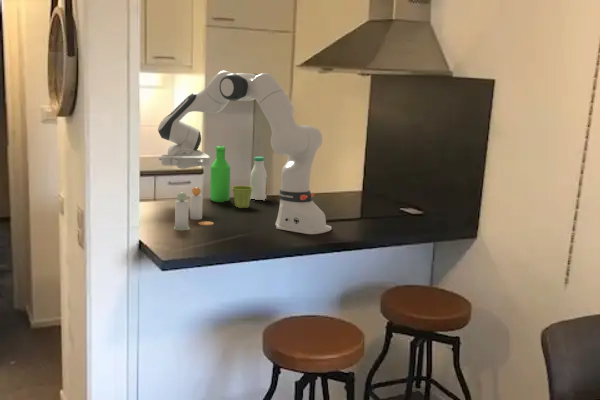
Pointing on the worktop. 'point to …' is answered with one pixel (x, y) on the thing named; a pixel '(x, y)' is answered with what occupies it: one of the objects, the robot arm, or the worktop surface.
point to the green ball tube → (181, 212)
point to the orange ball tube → (196, 204)
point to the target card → (200, 224)
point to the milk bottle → (258, 180)
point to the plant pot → (242, 196)
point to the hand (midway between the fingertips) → (189, 163)
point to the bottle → (220, 177)
